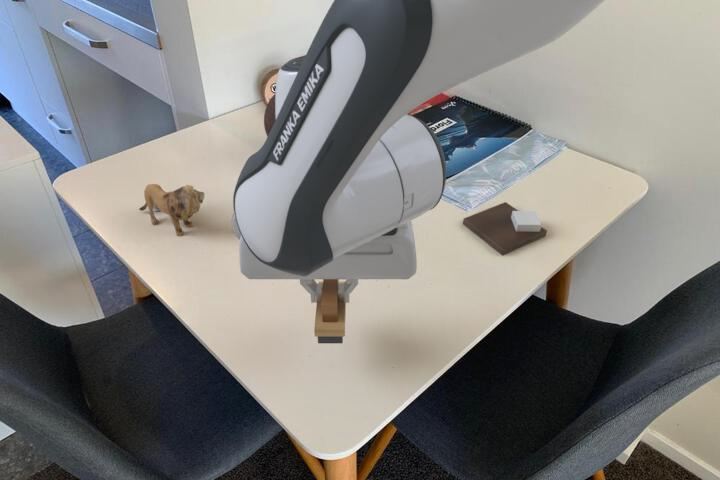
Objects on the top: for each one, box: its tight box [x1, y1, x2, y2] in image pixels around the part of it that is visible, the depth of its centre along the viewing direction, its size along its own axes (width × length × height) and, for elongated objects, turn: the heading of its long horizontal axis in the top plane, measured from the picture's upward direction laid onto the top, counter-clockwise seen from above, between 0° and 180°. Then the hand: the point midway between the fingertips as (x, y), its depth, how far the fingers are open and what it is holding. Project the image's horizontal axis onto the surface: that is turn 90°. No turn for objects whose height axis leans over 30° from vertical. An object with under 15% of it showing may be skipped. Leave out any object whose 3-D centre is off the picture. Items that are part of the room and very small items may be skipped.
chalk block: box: [511, 210, 542, 232], centre depth 89 cm, size 4×4×2 cm
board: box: [462, 201, 548, 256], centre depth 90 cm, size 10×10×1 cm
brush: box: [313, 279, 347, 344], centre depth 65 cm, size 8×4×6 cm, turn 0°
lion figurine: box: [138, 183, 205, 237], centre depth 88 cm, size 15×5×9 cm, turn 65°
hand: (330, 299), depth 64 cm, fingers closed on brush, 2 cm apart
